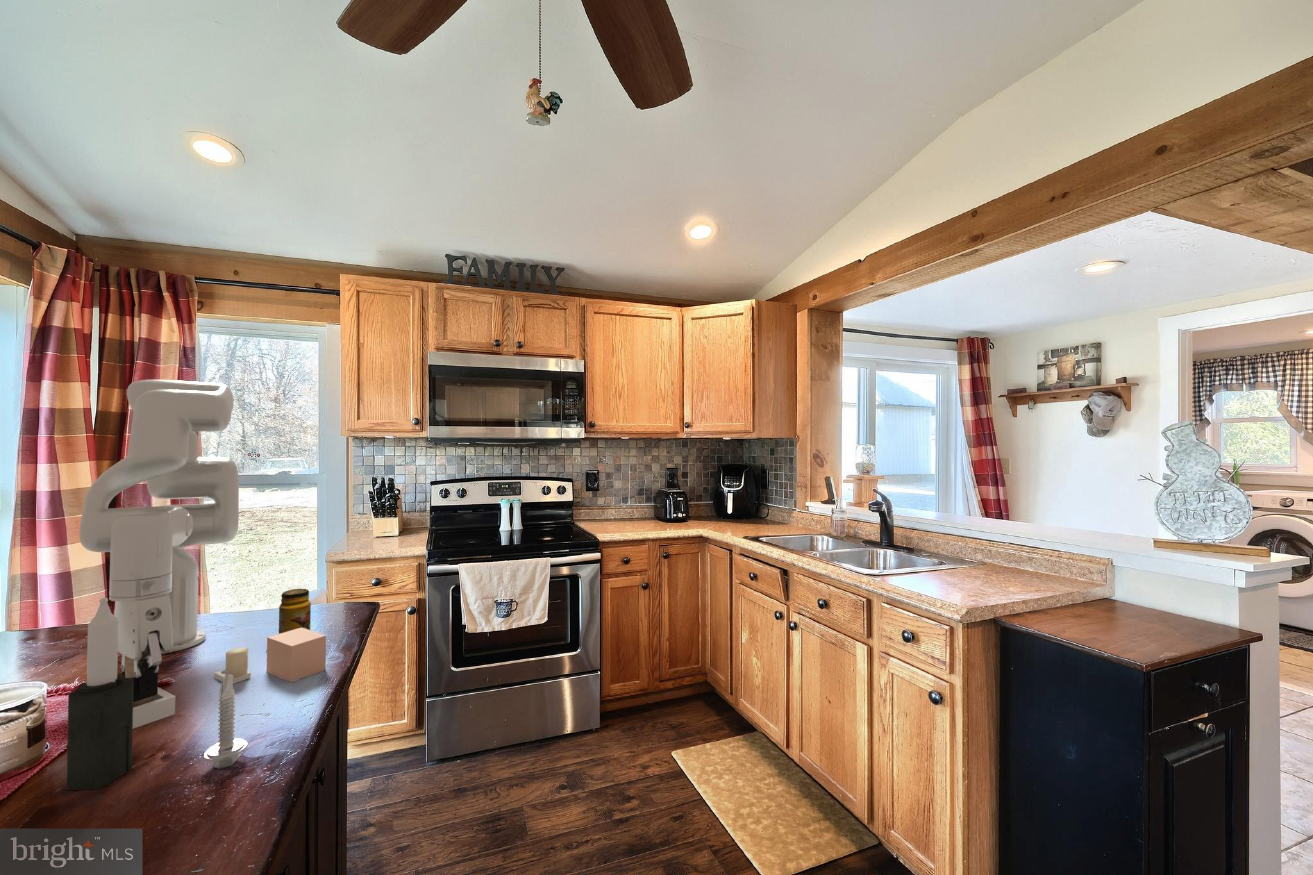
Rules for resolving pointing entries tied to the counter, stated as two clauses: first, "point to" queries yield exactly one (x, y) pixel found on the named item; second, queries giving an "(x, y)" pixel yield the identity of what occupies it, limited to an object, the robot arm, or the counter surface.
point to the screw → (226, 730)
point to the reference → (235, 665)
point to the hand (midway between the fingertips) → (139, 694)
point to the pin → (130, 673)
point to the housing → (296, 654)
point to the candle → (100, 711)
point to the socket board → (154, 709)
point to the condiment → (294, 610)
